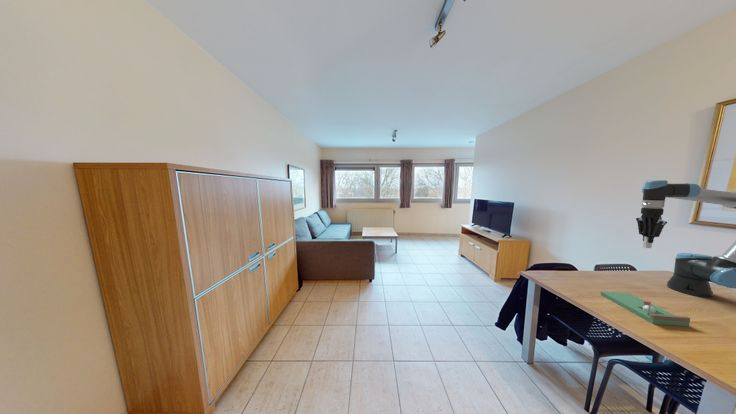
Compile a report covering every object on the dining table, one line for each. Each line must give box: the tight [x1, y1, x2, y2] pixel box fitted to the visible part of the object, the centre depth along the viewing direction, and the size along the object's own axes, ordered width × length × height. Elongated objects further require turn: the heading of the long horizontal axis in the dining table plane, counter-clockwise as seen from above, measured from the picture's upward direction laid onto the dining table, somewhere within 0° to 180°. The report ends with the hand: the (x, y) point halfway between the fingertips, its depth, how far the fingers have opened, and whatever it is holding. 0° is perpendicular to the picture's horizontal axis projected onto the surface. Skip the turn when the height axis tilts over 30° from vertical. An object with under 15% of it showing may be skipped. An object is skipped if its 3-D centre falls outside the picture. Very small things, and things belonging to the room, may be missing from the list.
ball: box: [642, 305, 656, 314], centre depth 104 cm, size 4×4×4 cm
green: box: [599, 290, 691, 327], centre depth 109 cm, size 15×26×9 cm, turn 171°
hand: (647, 247), depth 120 cm, fingers closed
